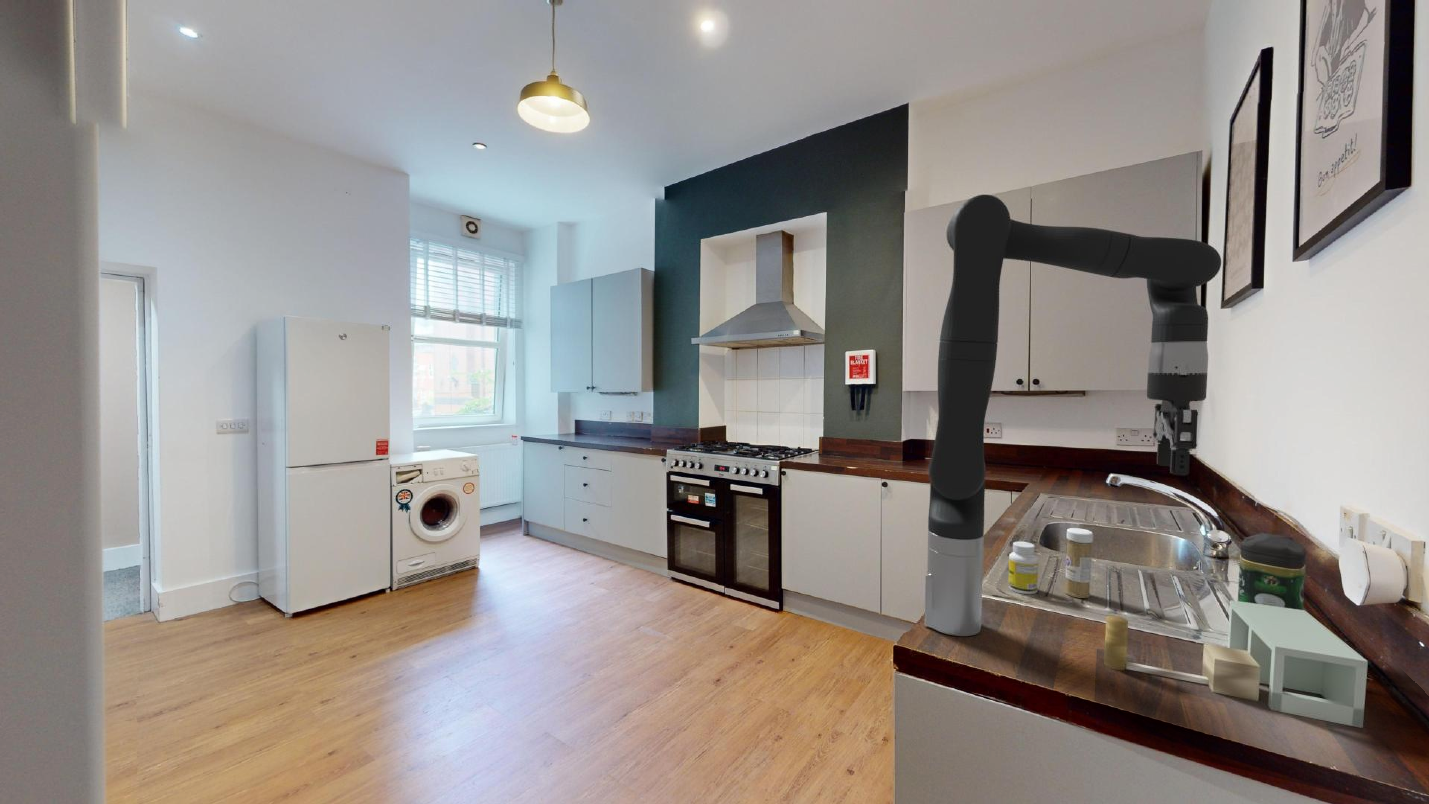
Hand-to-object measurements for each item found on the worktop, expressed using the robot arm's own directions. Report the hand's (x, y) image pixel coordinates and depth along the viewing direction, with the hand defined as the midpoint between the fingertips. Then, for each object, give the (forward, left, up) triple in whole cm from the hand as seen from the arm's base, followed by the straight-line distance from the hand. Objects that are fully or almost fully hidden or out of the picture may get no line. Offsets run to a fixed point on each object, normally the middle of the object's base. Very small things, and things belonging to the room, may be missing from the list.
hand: (1171, 470), depth 94 cm
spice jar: (-10, +20, -30) cm, 38 cm away
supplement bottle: (-20, +18, -30) cm, 41 cm away
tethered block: (-1, -10, -30) cm, 32 cm away
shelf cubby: (+14, -6, -30) cm, 34 cm away
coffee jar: (+16, +9, -30) cm, 35 cm away
